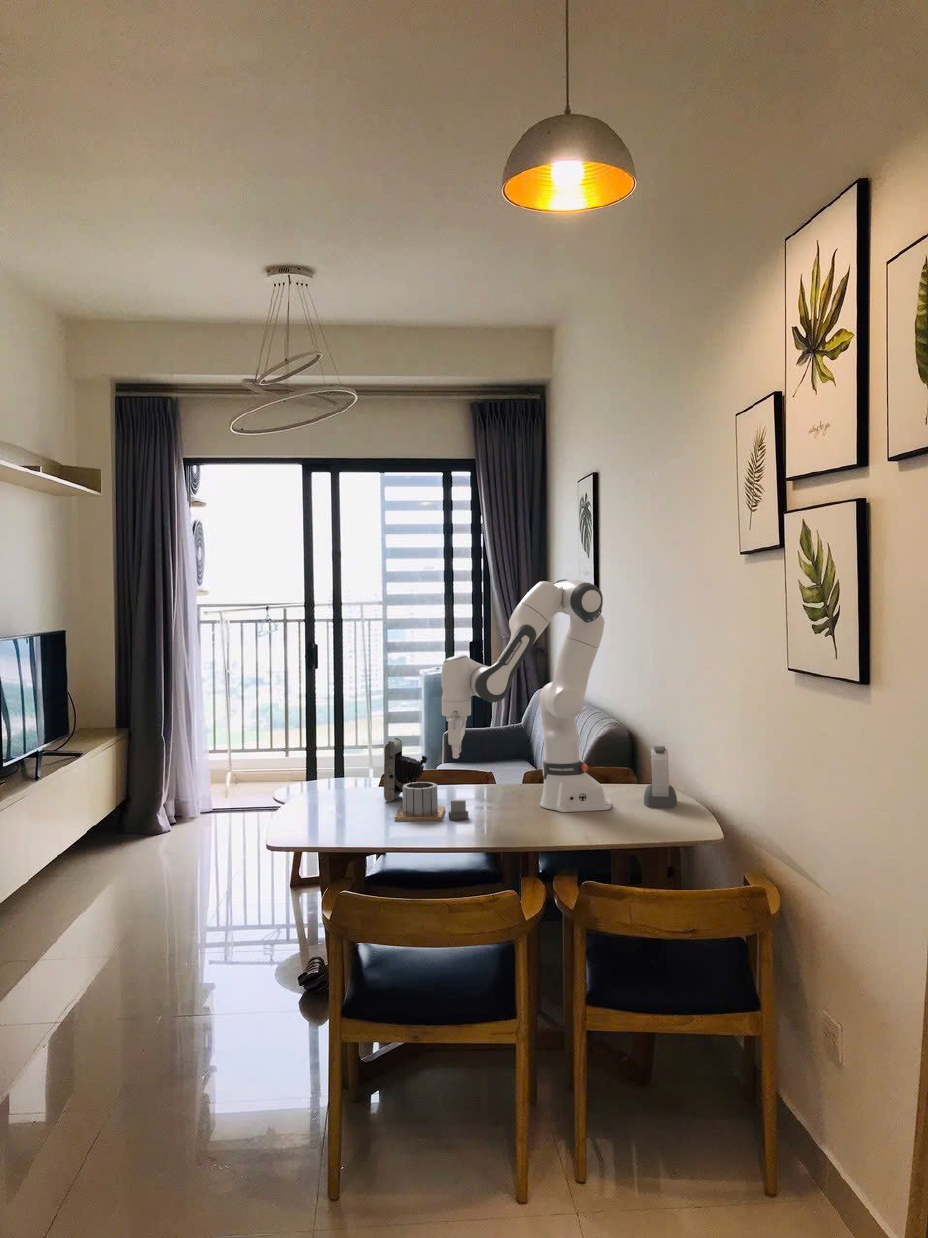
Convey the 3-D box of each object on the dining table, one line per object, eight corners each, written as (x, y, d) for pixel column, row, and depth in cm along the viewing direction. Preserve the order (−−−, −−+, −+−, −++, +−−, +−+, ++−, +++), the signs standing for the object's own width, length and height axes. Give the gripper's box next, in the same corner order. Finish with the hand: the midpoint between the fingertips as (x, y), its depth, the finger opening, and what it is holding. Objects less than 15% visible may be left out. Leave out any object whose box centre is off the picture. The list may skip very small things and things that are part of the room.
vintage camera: (428, 804, 288) (429, 743, 287) (382, 801, 291) (383, 741, 290) (435, 798, 297) (436, 739, 297) (391, 795, 300) (392, 737, 300)
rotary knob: (469, 816, 270) (468, 798, 270) (467, 821, 264) (467, 802, 264) (449, 816, 270) (449, 798, 270) (447, 821, 264) (447, 803, 264)
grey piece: (644, 797, 290) (643, 742, 290) (676, 798, 288) (675, 742, 287) (643, 809, 274) (642, 750, 274) (677, 810, 272) (676, 751, 272)
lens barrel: (445, 809, 278) (444, 780, 278) (441, 821, 264) (440, 790, 264) (401, 810, 279) (400, 781, 279) (394, 821, 265) (394, 790, 265)
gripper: (464, 713, 256) (465, 761, 256) (468, 705, 276) (469, 749, 277) (442, 714, 256) (443, 761, 257) (448, 705, 277) (449, 749, 277)
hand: (456, 755), depth 267 cm, fingers open, 8 cm apart
